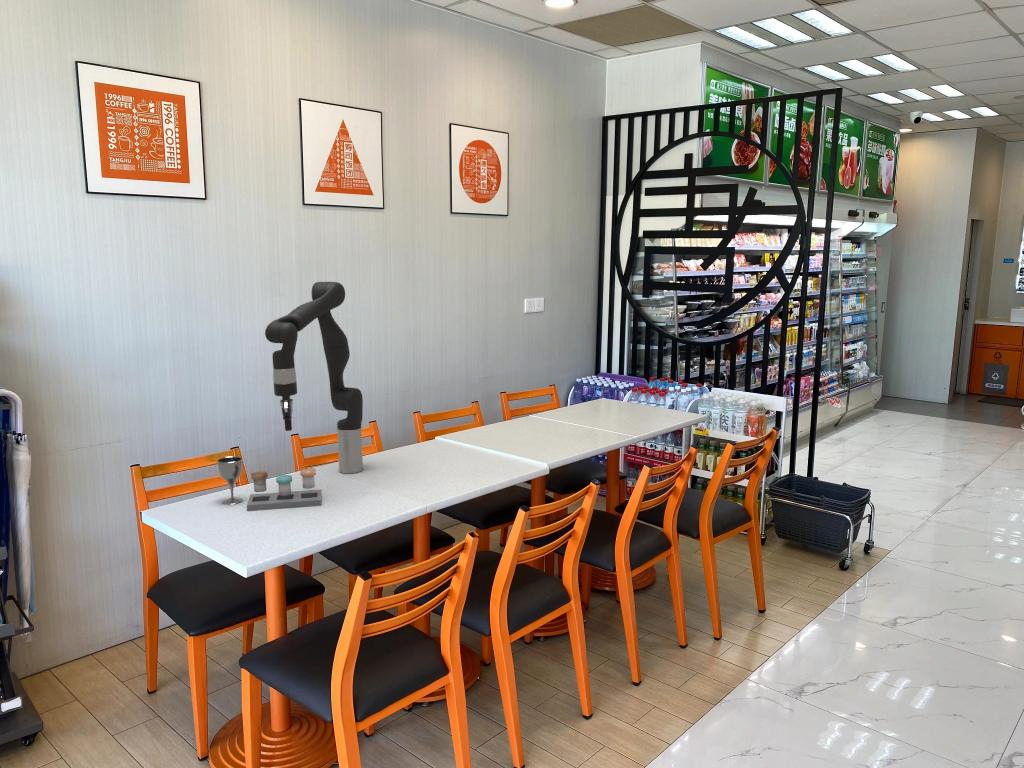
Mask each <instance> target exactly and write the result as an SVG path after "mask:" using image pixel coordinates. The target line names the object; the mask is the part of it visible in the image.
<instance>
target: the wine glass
mask: <svg viewBox="0 0 1024 768" xmlns="http://www.w3.org/2000/svg"><path fill="white" fill-rule="evenodd" d="M217 469H218V473H219V476H220V477H221V478H222V479H223V480H224V481H225V482H226V483H227V484H228V486H229V489H230V490H229V491H230V498H225V499H224V500H222V501H221V504H223V505H228V506H229V505H230V506H231V505H237V504H241V503H243V502H244V499H243V498H240V497H234V488H235V487H234V486H235V483H236V482H237V480H238V479H239V478H240V476H241V474H242V471H243V458H242V457H241V456H231V455H230V456H224V457H220V458H217Z"/></svg>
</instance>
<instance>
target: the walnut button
mask: <svg viewBox="0 0 1024 768" xmlns="http://www.w3.org/2000/svg"><path fill="white" fill-rule="evenodd" d="M250 475H251V480H253V490H254V492H255V493H265V492H267V479H268V471H262V470H260V471H253V472H251V474H250Z"/></svg>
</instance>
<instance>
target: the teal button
mask: <svg viewBox="0 0 1024 768" xmlns="http://www.w3.org/2000/svg"><path fill="white" fill-rule="evenodd" d="M275 478H276V479H275V480H276V483H277V484H278V485H277V486H278V492H279V495H280V496H287V495H290V494H291V492H292V489H291V488H292V486H291V484H292V482H293V475H290V474H283V475H278V476H276V477H275Z"/></svg>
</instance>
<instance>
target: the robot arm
mask: <svg viewBox="0 0 1024 768" xmlns="http://www.w3.org/2000/svg"><path fill="white" fill-rule="evenodd" d="M345 298H346V290H345V287H344V286H343V284H342V283H340V282H338V281H318V282H317V281H316V282H314V284H313V285H312V288H311V301H308V302H305V303H303V304H300V305H299V306H297V307H295V308H294V309H293V310H291V311H290V312H289V313H288V314H287V315H284V316H282V317H279V318H277V319H274V320H272V321H271V322H270V323H268V325H267V326H266V328H265V331H264V334H265V338H266V340H267V341H268V342H270V343H272V344H282V346H281V349H278V350H275V351H273V352H272V368H273V372H272V380H273V390H274V392H273V393H274V396H275V397H281V399H280V402H279V404H280V407H281V414H282V419H283V421H284V431H286V432H291V431H292V429H293V426H292V425H293V424H292V422H293V421H292V419H293V416H292V415H293V404H294V400H293V398H291V396H295V395H297V394H298V383H297V371H296V368H295V367H296V366H295V365H296V364H295V353H296V347H297V346H296V345H297V341H298V337H299V336H298V335H299V332H300V331H303V329H305V328H306V327H307V326H308V325H309V324H311V323H312V322H313V321H315V320H316V319H317V321H318V324H319V329H320V330H319V331H320V335H321V338H322V339H321V340H322V346H323V352H324V357H325V360H326V367H327V373H328V378H329V379H328V381H329V392H330V401H331V404H332V407H333V408H334V409H335V410H336V411H341V412H342V411H343V412H347V413H346V417H345V418H343V419H340V420H338V421H337V423H336V427H337V428H336V430H337V450H338V472H340V473H342V474H357V473H361V472H363V470H364V462H363V461H364V460H363V458H364V457H363V439H362V438H363V437H362V435H363V434H362V422H363V418H364V417H363V415H364V414H363V410H364V409H363V403H364V402H363V401H364V400H363V399H364V397H363V394H362V391H361V390H360V389H359V388H357V387H346V386H345V384H344V372H345V369H346V368H347V367H346V366H347V365H348V362H349V360H350V356H351V354H350V347H349V341H348V338H347V335H346V334H345V332H344V330H342V328H341V327H340V325H338V323H337V322H336V321H335V319H334V317H333V315H332V312H331V310H334V309H336V308H338V307H340V306H341V305H342V304H343V303H344V301H345V300H346V299H345Z"/></svg>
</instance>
